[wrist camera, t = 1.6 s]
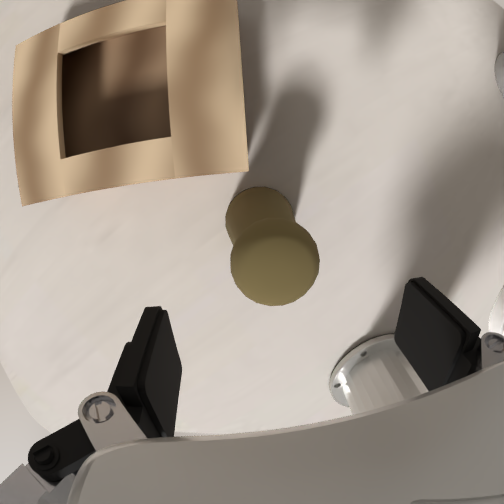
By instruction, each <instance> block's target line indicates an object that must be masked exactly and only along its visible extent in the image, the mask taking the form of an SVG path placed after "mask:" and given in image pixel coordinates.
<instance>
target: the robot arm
mask: <svg viewBox="0 0 504 504" xmlns="http://www.w3.org/2000/svg"><path fill="white" fill-rule="evenodd" d="M480 331H481V329H480V328H479V327H478V326H477V325H476V324H475V323H474V322H473V321H472V320H471V319H470V318H469V317H467V316H466V315H465V314H464V313H463V312H462V311H461V310H460V309H459V308H458V307H457V306H456V305H454V304H453V303H452V302H451V301H450V300H449V299H448V298H447V297H446V296H444V295H443V294H442V293H441V292H440V291H439V290H438V289H436V288H435V287H434V286H433V285H432V284H431V283H429V282H428V281H427V280H426V279H425V278H423V277H419V278H413V279H410V280H409V281H408V283H407V284H406V285H405V290H404V295H403V300H402V305H401V309H400V314H399V318H398V323H397V327H396V331H395V334H389V335H383V336H379V337H376V338H373V339H371V340H368V341H366V342H364V343H363V344H361V345H359V346H358V347H356V348H355V349H353V350H352V351H351V352H350V353H348V354H347V355H346V356H345V357H344V358H343V359H342V360H341V361H340V362H339V363H338V365H337V366H336V368H335V369H334V371H333V373H332V375H331V378H330V382H329V387H330V392H331V395H332V397H333V399H334V400H335V401H336V402H337V403H338V404H340V405H343V406H346V407H350V409H351V412H352V414H353V415H350V416H346V417H342V418H337V419H332V420H328V421H323V422H318V423H312V424H307V425H301V426H295V427H289V428H282V429H275V430H267V431H258V432H248V433H236V434H224V435H208V436H181V437H174V430H175V421H176V413H177V405H178V397H179V390H180V382H181V375H182V365H181V361H180V358H179V354H178V351H177V347H176V343H175V340H174V336H173V332H172V328H171V324H170V320H169V316H168V312H167V310H162V308H161V307H160V306H156V307H145V309H144V312H143V314H142V316H141V319H140V321H139V324H138V326H137V329H136V331H135V334H134V336H133V339H132V341H131V342H128V343H126V345H125V347H124V349H123V352H122V354H121V357H120V359H119V362H118V365H117V367H116V370H115V372H114V375H113V378H112V381H111V383H110V386H109V389H108V391H107V392H96V393H94V394H91V395H89V396H88V397H86V398H85V399H84V400H83V401H82V402H81V404H80V406H79V408H78V416H79V419H78V420H76V421H75V422H73V423H71V424H69V425H67V426H65V427H64V428H62V429H60V430H58V431H56V432H54V433H53V434H51V435H49V436H47V437H45V438H43V439H41V440H39V441H38V442H36V443H35V444H34V445H33V446H32V447H31V449H30V451H29V454H28V462H29V463H28V464H27V465H26V466H25V465H24V464H22V465H20V466H19V467H18V468H17V469H16V470H15V471H14V472H13V473H12V474H11V475H10V476H9V477H8V478H7V479H6V480H5V481H3V482H2V483H1V484H0V504H504V336H503V335H501V334H499V333H495V332H488V333H485V334H484V335H483V336H482V338H481V339H480V338H479V337H478V336H479V334H480Z"/></svg>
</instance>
